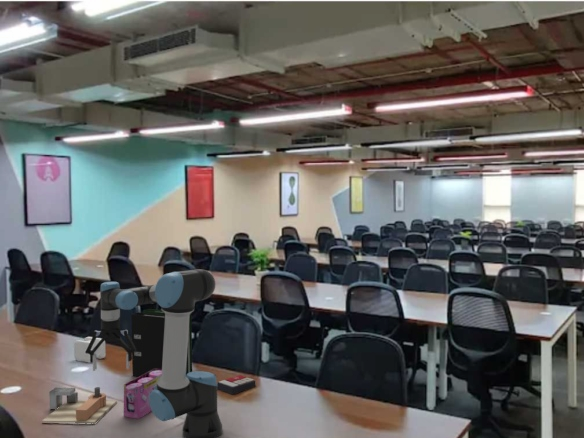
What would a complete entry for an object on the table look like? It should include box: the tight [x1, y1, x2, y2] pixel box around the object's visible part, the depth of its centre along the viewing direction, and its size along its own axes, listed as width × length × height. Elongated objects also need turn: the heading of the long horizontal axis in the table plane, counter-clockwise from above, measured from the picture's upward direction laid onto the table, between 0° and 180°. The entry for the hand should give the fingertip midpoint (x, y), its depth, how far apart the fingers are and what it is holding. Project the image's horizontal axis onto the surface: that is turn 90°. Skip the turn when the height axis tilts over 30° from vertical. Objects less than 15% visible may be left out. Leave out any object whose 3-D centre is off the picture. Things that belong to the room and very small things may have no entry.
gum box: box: [123, 368, 162, 420], centre depth 225 cm, size 24×8×14 cm, turn 160°
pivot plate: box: [41, 386, 118, 425], centre depth 220 cm, size 22×22×9 cm
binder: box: [130, 308, 193, 378], centre depth 266 cm, size 27×15×32 cm, turn 67°
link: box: [76, 392, 107, 420], centre depth 219 cm, size 18×7×4 cm, turn 176°
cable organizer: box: [73, 336, 106, 364], centre depth 295 cm, size 15×11×12 cm
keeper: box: [48, 387, 79, 410], centre depth 227 cm, size 7×9×8 cm
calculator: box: [217, 375, 256, 396], centre depth 249 cm, size 11×4×15 cm
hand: (111, 369), depth 218 cm, fingers open, 13 cm apart
